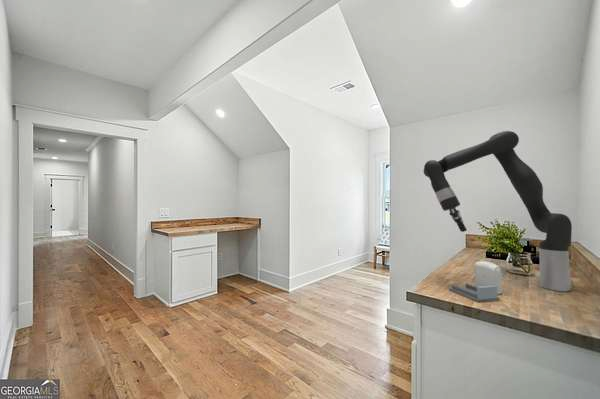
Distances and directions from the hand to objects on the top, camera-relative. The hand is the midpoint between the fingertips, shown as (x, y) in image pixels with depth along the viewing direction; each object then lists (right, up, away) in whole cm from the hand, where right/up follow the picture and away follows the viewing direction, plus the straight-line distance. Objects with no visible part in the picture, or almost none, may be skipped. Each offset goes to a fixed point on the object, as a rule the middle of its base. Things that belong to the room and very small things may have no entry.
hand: (464, 231), depth 114 cm
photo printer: (+7, -25, -5) cm, 27 cm away
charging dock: (-3, -25, -10) cm, 27 cm away
